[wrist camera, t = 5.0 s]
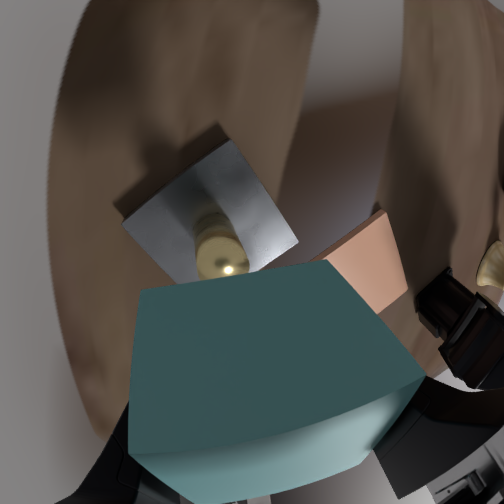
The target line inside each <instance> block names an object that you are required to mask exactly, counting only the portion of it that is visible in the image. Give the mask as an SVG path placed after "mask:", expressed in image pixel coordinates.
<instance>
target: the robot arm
mask: <svg viewBox="0 0 504 504" xmlns="http://www.w3.org/2000/svg"><path fill="white" fill-rule="evenodd" d="M416 299H417V305H418V315H419V321H420V322H421V323H422V324H423V325H424V326H425V327H426V328H427V329H428V330H429V331H430V332H431V333H432V334H433V335H434V337H435V338H439V337H441V338H442V339H443V340H444V343H443V344H442V345H440V347H439V348H438V350H439V351H440V353H441V356H442V357H443V359H444V361H445V362H446V364H447V365H448V367H449V369H450V370H451V372H452V374H453V376H454V377H455V378H459V379H461V380H463V381H464V382H465V383H466V385H467V387H469V388H472V389H480V390H484V391H479V392H465V391H461V390H459V389H456V388H454V387H451V386H449V385H446V384H444V383H441V382H439V381H437V380H434V379H433V378H430V377H428V376H425V378H424V380H423V381H422V383H421V384H420V386H419V388H418V389H417V391H416V392H415V394H414V395H413V397H412V398H411V400H410V401H409V403H408V404H407V406H406V407H405V408H404V410H403V411H402V413H401V414H400V415H399V417H398V418H397V419H396V421H395V422H394V423H393V425H392V426H391V427H390V429H389V430H388V431H387V432H386V434H385V435H384V436H383V437H382V439H381V440H380V441H379V442H378V444H377V445H376V446H375V447H374V448H373V450H374V452H375V454H376V456H377V458H378V460H379V462H380V464H381V466H382V468H383V470H384V472H385V474H386V476H387V478H388V480H389V482H390V484H391V486H392V488H393V490H394V492H395V494H396V496H397V498H398V499H401V498H403V497H405V496H407V495H409V494H411V493H412V492H414V491H416V490H418V489H420V488H421V487H423V486H425V485H426V486H427V488H428V489H429V491H430V493H431V495H432V496H433V499H434V501H435V503H436V504H504V312H503V311H502V310H501V309H500V308H499V307H498V305H497V304H495V303H494V302H493V301H492V300H491V299H489V298H488V297H487V296H485V295H483V294H481V293H479V292H476V294H475V295H474V294H473V293H472V292H471V291H469V290H468V289H467V288H466V287H465V286H463V285H462V284H461V283H460V282H459V281H457V280H456V279H455V278H454V277H453V274H452V268H451V267H448V268H447V269H446V270H445V271H444V272H443V273H442V274H441V275H439V276H438V277H437V278H436V279H435V280H434V281H433V282H432V283H431V284H430V285H429V286H427V287H426V288H425V289H424V290H423V291H422V292H421V293H419V294H418V296H417V298H416ZM485 306H487V307H486V309H485ZM128 415H129V401H128V403H127V405H126V407H125V409H124V411H123V413H122V415H121V416H120V418H119V420H118V422H117V424H116V426H115V428H114V430H113V432H112V434H111V436H110V438H109V440H108V442H107V444H106V445H105V447H104V449H103V451H102V453H101V455H100V456H99V458H98V459H97V461H96V462H95V464H94V466H93V467H92V469H91V470H90V471H89V473H88V474H87V476H86V478H85V479H84V481H83V482H82V483H81V485H80V486H79V488H78V489H77V490H76V491H75V492H74V493H73V494H71V495H70V496H68V497H67V498H65V499H63V500H61V501H59V502H57V503H55V504H180V495H179V493H178V492H176V491H175V490H173V489H172V488H171V487H169V486H168V485H166V484H165V483H164V482H162V481H161V480H160V479H158V478H157V477H156V476H154V475H153V474H152V473H151V472H149V471H148V470H147V469H146V468H144V467H143V466H142V465H141V464H140V463H138V462H137V461H136V460H135V459H134V458H133V457H131V456H130V455H129V454H128Z"/></svg>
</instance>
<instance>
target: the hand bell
mask: <svg viewBox="0 0 504 504" xmlns="http://www.w3.org/2000/svg"><path fill="white" fill-rule="evenodd" d="M476 282H477V284H478V285H479V286H484V285H494V286H496V287H498V288H500V289H502V290H503V291H504V249H503V245H502V243H501V242H500V241H496V242H494V243H493V244H492V245H491V246H490V248H489V249H488V250H487V252H486V254H485V256H484V257H483V259H482V262H481V264H480V266H479V269H478V273H477V278H476Z"/></svg>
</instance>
